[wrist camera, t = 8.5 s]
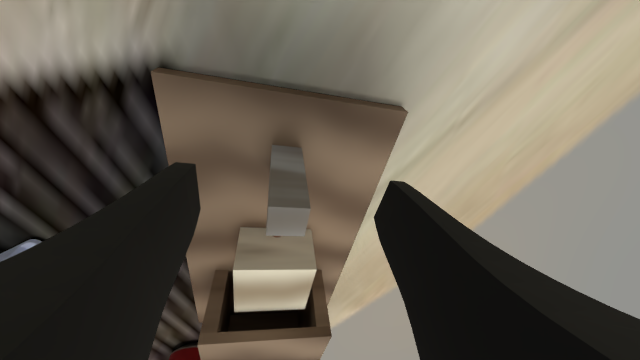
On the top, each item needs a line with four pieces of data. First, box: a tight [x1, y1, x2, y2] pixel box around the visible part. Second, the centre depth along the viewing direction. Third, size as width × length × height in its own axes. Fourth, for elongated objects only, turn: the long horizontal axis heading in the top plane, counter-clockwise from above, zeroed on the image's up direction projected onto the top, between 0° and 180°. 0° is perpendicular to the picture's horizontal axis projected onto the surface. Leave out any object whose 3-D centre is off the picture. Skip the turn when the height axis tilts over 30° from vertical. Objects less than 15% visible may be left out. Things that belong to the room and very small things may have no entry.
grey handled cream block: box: [233, 145, 317, 312], centre depth 18 cm, size 14×6×6 cm, turn 169°
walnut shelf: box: [151, 67, 408, 360], centre depth 20 cm, size 28×15×7 cm, turn 168°
